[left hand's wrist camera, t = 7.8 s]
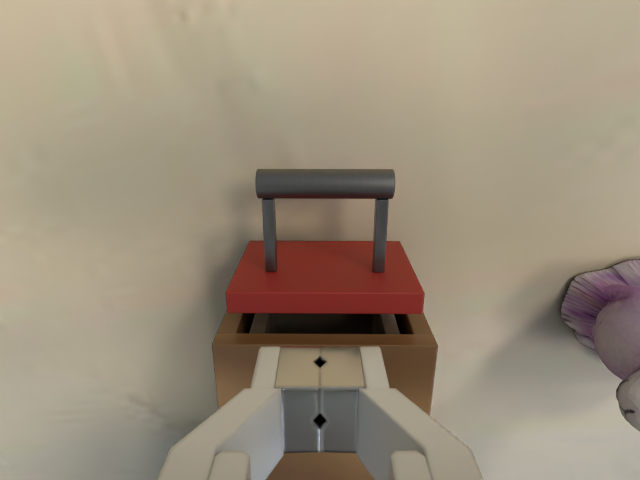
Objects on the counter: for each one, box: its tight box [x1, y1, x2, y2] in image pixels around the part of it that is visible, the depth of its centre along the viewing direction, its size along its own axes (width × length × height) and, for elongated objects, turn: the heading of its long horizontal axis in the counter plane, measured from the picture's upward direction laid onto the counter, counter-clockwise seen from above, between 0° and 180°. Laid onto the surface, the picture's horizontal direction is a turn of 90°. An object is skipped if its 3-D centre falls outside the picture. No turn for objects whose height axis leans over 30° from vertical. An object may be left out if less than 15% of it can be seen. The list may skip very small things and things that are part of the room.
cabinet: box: [212, 311, 438, 480], centre depth 27 cm, size 17×11×9 cm, turn 0°
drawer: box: [226, 169, 424, 334], centre depth 25 cm, size 21×10×7 cm, turn 0°
